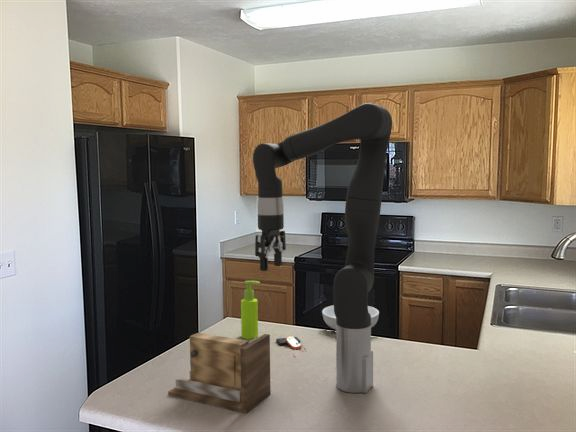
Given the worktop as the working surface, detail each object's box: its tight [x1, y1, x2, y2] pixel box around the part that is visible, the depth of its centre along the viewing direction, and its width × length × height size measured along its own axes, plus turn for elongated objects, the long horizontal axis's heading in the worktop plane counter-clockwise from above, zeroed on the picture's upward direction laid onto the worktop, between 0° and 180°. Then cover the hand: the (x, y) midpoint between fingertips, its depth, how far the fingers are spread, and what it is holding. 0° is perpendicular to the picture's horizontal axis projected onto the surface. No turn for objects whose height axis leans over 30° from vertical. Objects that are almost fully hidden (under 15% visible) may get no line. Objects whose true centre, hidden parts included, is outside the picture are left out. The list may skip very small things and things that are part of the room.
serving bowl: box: [321, 304, 380, 331], centre depth 190 cm, size 21×21×7 cm
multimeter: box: [275, 335, 307, 359], centre depth 169 cm, size 18×12×3 cm, turn 13°
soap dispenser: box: [240, 280, 261, 340], centre depth 181 cm, size 6×7×20 cm
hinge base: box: [167, 333, 271, 414], centre depth 134 cm, size 24×12×16 cm, turn 63°
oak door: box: [189, 332, 250, 391], centre depth 133 cm, size 17×5×14 cm, turn 64°
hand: (271, 268), depth 150 cm, fingers open, 8 cm apart
